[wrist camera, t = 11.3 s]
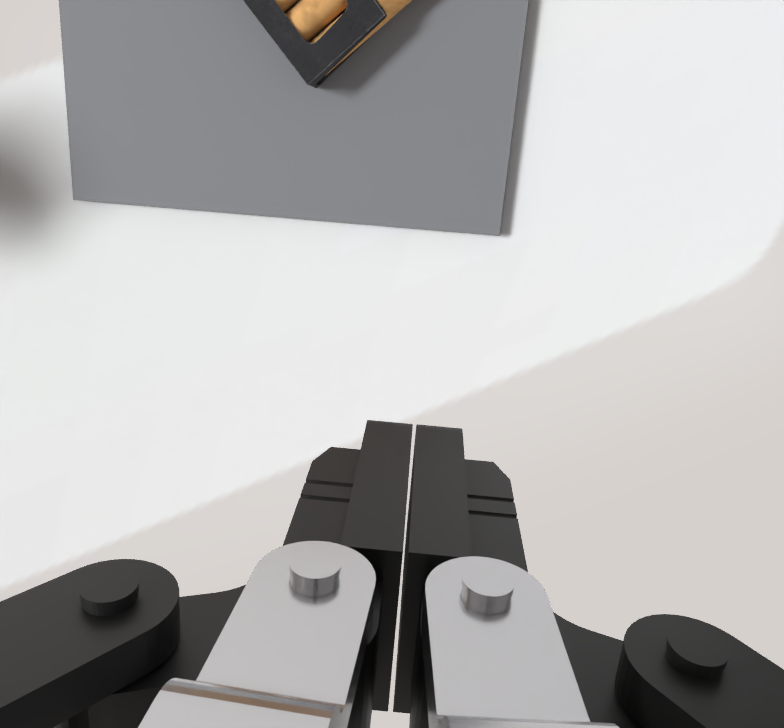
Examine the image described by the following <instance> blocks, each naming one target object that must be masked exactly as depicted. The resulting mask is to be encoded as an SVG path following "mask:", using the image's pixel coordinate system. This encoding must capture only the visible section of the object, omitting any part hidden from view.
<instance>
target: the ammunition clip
mask: <svg viewBox="0 0 784 728" xmlns="http://www.w3.org/2000/svg"><path fill="white" fill-rule="evenodd" d="M243 1H244V2H245V4H246V5H247V6H248V8H249V9H250V10H251V11H252V13H253V14H254V15H255V17H256V18H257V19H258V21H259V22H260V23H261V25H262V26H263V27H264V29H265V30H266V31H267V33H268V34H269V35H270V36H271V38H272V39H273V40H274V42H275V43H276V44H277V46H278V47H279V48H280V50H281V51H282V52H283V54H284V55H285V56H286V58H287V59H288V60H289V61H290V63H291V64H292V65H293V67H294V68H295V69H296V71H297V72H298V73H299V75H300V76H301V77H302V79H303V80H304V81H305V83H306V84H307V85H309V86H312V87H315V88H318V87H319V86H320V85H321V84H322V83H323V82H324V81H325V80H326V79H327V78H328V77H329V76H330V75H331V74H332V73H333V72H334V71H335V70H337V69H338V68H339V67H340V66H341V65H342V64H343V63H344V62H345V61H346V60H347V59H348V58H349V57H350V56H351V55H352V54H353V53H354V52H355V51H356V50H358V49H359V48H360V47H361V46H362V45H363V44H364V43H365V42H366V41H367V40H368V39H369V38H370V37H371V36H372V35H373V34H374V33H375V32H376V31H377V30H379V29H380V28H381V27H382V26H383V25H384V24H386V23H387V22H388V21H389V20H390V19H391V18H392V17H394V16H395V15H396V14H397V13H398V12H399V11H400V10H402V9H403V8H404V7H405V6H406V5H407V4H409V3H410V2H411V1H412V0H300V1H299V0H243ZM298 1H299V2H298ZM297 2H298V3H297ZM296 3H297V4H296ZM294 4H296V5H295V6H294V7H292V6H293V5H294ZM291 7H292V8H291ZM290 8H291V9H290ZM289 9H290V10H289ZM345 9H346V10H345ZM288 10H289V11H288ZM344 10H345V12H344V13H343V14H342V15H341V16H339V17H338V18H337V19H336V20H335V21H334V22H332V21H333V20H334V19H335V18H336V17H337V16H338V15H339V14H341V13H342V12H343V11H344ZM287 11H288V12H287ZM286 12H287V13H286ZM330 22H332V23H331V24H330V25H329V26H328V27H327V28H326V29H324V28H325V27H326V26H327V25H328V24H329V23H330ZM323 29H324V30H323ZM321 30H323V31H322V32H321V33H320V34H319V35H317V34H318V33H319V32H320V31H321ZM316 35H317V36H316ZM315 36H316V37H315ZM314 37H315V38H314ZM312 38H314V39H313V40H312V41H311V42H309V41H310V40H311V39H312Z"/></svg>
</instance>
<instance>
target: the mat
mask: <svg viewBox="0 0 784 728" xmlns="http://www.w3.org/2000/svg"><path fill="white" fill-rule="evenodd" d="M299 1H300V0H299ZM299 1H298V2H299ZM298 2H297V3H298ZM528 2H529V0H412V1H411V2H410V3H409V4H407V5H406V6H405V7H404V8H403V9H402V10H400V11H399V12H398V13H397V14H396V15H395V16H394V17H392V18H391V19H390V20H389V21H388V22H387V23H386V24H384V25H383V26H382V27H381V28H380V29H379V30H377V31H376V32H375V33H374V34H373V35H372V36H371V37H370V38H369V39H368V40H367V41H366V42H365V43H364V44H363V45H362V46H361V47H360V48H359V49H358V50H356V51H355V52H354V53H353V54H352V55H351V56H350V57H349V58H348V59H347V60H346V61H345V62H344V63H343V64H342V65H341V66H340V67H339V68H338V69H337V70H335V71H334V72H333V73H332V74H331V75H330V76H329V77H328V78H327V79H326V80H325V81H324V82H323V83H322V84H321V85H320V86H319V87H318V88H315V87H312V86H309V85H307V84H306V83H305V81H304V80H303V79H302V77H301V76H300V75H299V73H298V72H297V71H296V69H295V68H294V67H293V65H292V64H291V63H290V61H289V60H288V59H287V58H286V56H285V55H284V54H283V52H282V51H281V50H280V48H279V47H278V46H277V44H276V43H275V42H274V40H273V39H272V38H271V36H270V35H269V34H268V33H267V31H266V30H265V29H264V27H263V26H262V25H261V23H260V22H259V21H258V19H257V18H256V17H255V15H254V14H253V13H252V11H251V10H250V9H249V8H248V6H247V5H246V4H245V2H244V1H243V0H59V8H60V21H61V34H62V35H61V36H62V50H63V63H64V77H65V91H66V105H67V118H68V132H69V146H70V160H71V174H72V187H73V200H81V201H93V202H105V203H117V204H129V205H140V206H152V207H164V208H176V209H188V210H200V211H211V212H223V213H235V214H247V215H259V216H271V217H282V218H294V219H306V220H318V221H330V222H342V223H353V224H365V225H377V226H389V227H401V228H413V229H424V230H436V231H448V232H460V233H472V234H484V235H495V236H499V235H500V227H501V219H502V211H503V203H504V195H505V187H506V178H507V170H508V162H509V154H510V146H511V138H512V130H513V122H514V114H515V106H516V98H517V90H518V82H519V74H520V66H521V58H522V50H523V42H524V34H525V26H526V18H527V10H528ZM297 3H296V4H297ZM296 4H294V5H293V6H292V7H294V6H295V5H296ZM292 7H291V8H292ZM291 8H290V9H291ZM290 9H289V10H290ZM289 10H288V11H289ZM345 10H346V9H345ZM345 10H344V11H343V12H342V13H341V14H339V15H338V16H337V17H336V18H335V19H334V20H333V21H332V22H334V21H335V20H336V19H337V18H338V17H339V16H341V15H342V14H343V13H344V12H345ZM288 11H287V12H288ZM287 12H286V13H287ZM332 22H330V23H329V24H328V25H327V26H326V27H325V28H324V29H326V28H327V27H328V26H329V25H330V24H331V23H332ZM324 29H323V30H324ZM323 30H321V31H320V32H319V33H318V34H317V35H319V34H320V33H321V32H322V31H323ZM317 35H316V36H317ZM316 36H315V37H316ZM315 37H314V38H315ZM314 38H312V39H311V40H310V41H309V42H311V41H312V40H313V39H314Z"/></svg>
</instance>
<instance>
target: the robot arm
mask: <svg viewBox="0 0 784 728" xmlns="http://www.w3.org/2000/svg"><path fill="white" fill-rule="evenodd" d="M412 426H413V425H412V424H404V423H393V422H383V421H372V420H367V424H366V429H365V433H364V438H363V442H362V447H361V450H357V449H347V448H336V447H331V448H329V449H328V450H327V451H325V452H324V453H323V454H321V455H320V456H319V457H317V458H316V459H315V460H313V461H312V464H311V467H310V470H309V472H308V475H307V478H306V483H305V484H304V487H303V490H302V493H301V498H300V499H299V501H298V504H297V507H296V510H295V513H294V515H293V518H292V521H291V524H290V527H289V530H288V532H287V535H286V538H285V541H284V544H283V546H282V547H279V548H277V549H275V550H273V551H271V552H270V553H268V554H267V555H265V556H264V557H263V558H262V559H261V560H260V561H259V563H258V564H257V566H256V567H255V569H254V571H253V573H252V575H251V577H250V578H249V580H248V582H247V584H246V585H244V586H241V587H239V588H236V589H232V590H228V591H223V592H218V593H210V594H202V595H194V596H186V597H179V587H178V583H177V581H176V579H175V578H174V576H173V575H172V574H171V573H170V572H169V571H167V570H166V569H164V568H163V567H161V566H159V565H156V564H154V563H151V562H147V561H142V560H135V559H133V560H132V559H118V560H108V561H103V562H98V563H94V564H91V565H87V566H84V567H82V568H79V569H76V570H74V571H72V572H70V573H67V574H65V575H62V576H60V577H58V578H55V579H53V580H51V581H48V582H46V583H44V584H41V585H39V586H37V587H34V588H32V589H30V590H27V591H25V592H22V593H20V594H18V595H15V596H13V597H10V598H8V599H6V600H4V601H1V602H0V728H370V722H371V713H372V710H379V711H388V704H389V693H390V682H391V671H392V661H393V650H394V639H395V628H396V618H397V607H398V596H399V586H400V575H401V574H400V573H401V564H402V553H403V541H404V527H405V515H406V501H407V490H408V477H409V464H410V450H411V438H412ZM513 501H514V498H513V493H512V487H511V482H510V479H509V478H508V477H507V476H506V475H505V474H504V473H503V472H502V471H501V470H500V469H499V467H498V466H497V465H496V464H495V463H494V462H487V461H476V460H465V459H464V446H463V433H462V429H459V428H447V427H437V426H426V425H417V426H416V436H415V446H414V458H413V468H412V478H411V489H410V500H409V510H408V521H407V532H406V544H405V557H404V570H403V584H402V598H401V612H400V626H399V640H398V654H397V667H396V680H395V694H394V708H393V712H402V713H410V728H784V670H783V669H782V668H780V667H779V666H777V665H776V664H774V663H773V662H771V661H770V660H768V659H767V658H765V657H763V656H762V655H760V654H759V653H757V652H756V651H754V650H753V649H751V648H750V647H748V646H747V645H745V644H744V643H742V642H741V641H739V640H737V639H736V638H735V637H733V636H731V635H730V634H728V633H726V632H725V631H723V630H721V629H719V628H717V627H715V626H713V625H711V624H708V623H705V622H703V621H700V620H697V619H692V618H689V617H685V616H679V615H668V614H661V615H651V616H647V617H644V618H641V619H639V620H637V621H636V622H634V623H633V624H631V626H630V627H629V628H628V629H627V631H626V634H625V636H624V641H621V640H618V639H615V638H612V637H609V636H606V635H602V634H599V633H596V632H593V631H590V630H587V629H585V628H582V627H579V626H577V625H575V624H573V623H571V622H569V621H566V620H565V619H563V618H562V617H560V616H558V615H557V614H555V613H554V612H553V611H552V608H551V605H550V602H549V599H548V596H547V594H546V592H545V589H544V588H543V587H542V585H541V584H540V583H539V582H538V581H537V580H536V579H535V578H534V577H533V576H532V575H530V574H529V573H528V570H527V565H526V560H525V555H524V550H523V544H522V539H521V534H520V529H519V524H518V519H517V518H516V516H517V513H516V508H515V503H513Z"/></svg>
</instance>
